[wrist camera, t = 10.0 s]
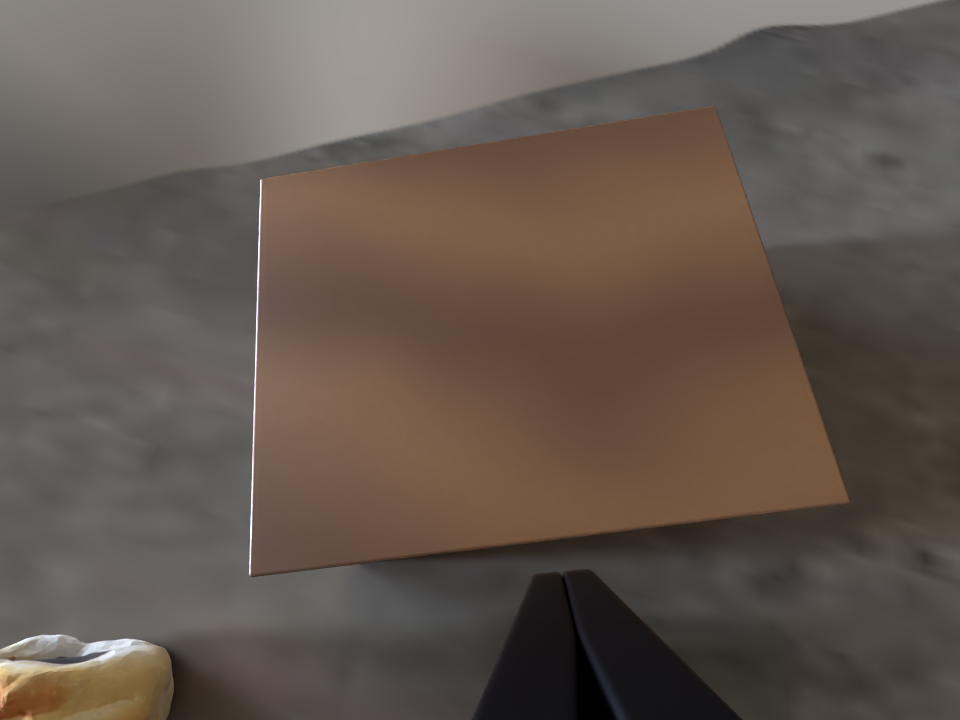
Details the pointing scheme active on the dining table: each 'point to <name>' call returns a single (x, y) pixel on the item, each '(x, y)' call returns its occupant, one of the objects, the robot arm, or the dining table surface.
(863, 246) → the dining table surface
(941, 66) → the dining table surface
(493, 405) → the lid
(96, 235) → the dining table surface
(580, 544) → the dining table surface
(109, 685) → the pastry
